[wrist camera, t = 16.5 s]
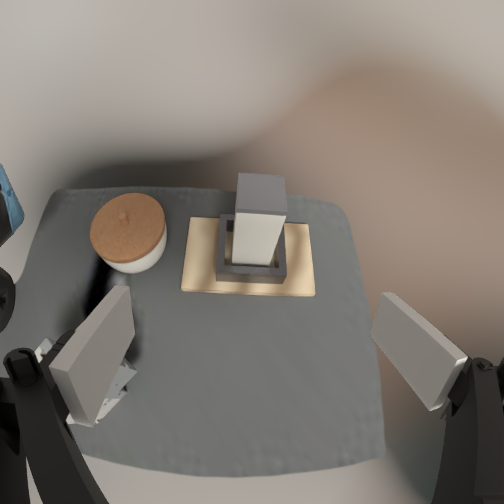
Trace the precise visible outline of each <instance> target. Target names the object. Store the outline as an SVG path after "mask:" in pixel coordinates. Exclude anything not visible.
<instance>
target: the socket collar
mask: <svg viewBox="0 0 504 504" xmlns="http://www.w3.org/2000/svg"><path fill="white" fill-rule="evenodd" d="M234 217H235V215H232V214H220V223H219V235H218V247H217V260H216V281H220V282H239V283H261V284H283V283H284V281H285V279H286V277H287V263H286V247H285V232H284V224H283V227H282V230H281V233H280V235H279V238H278V241H277V244H276V247H275V250H274V256H275V268H265V267H245V266H226V265H224V262H225V245H226V231H228V232H233V228H234Z"/></svg>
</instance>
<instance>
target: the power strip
mask: <svg viewBox="0 0 504 504" xmlns="http://www.w3.org/2000/svg"><path fill="white" fill-rule="evenodd" d="M286 215H287V201H286V190H285V180H284V176H275V175H263V174H251V173H238V183H237V194H236V205H235V217H234V228H233V242H232V264H231V266H245V267H265V268H268V267H269V264H270V261H271V259H272V256H273V253H274V250H275V247H276V244H277V241H278V238H279V235H280V233H281V230H282V227H283V224H284V221H285V218H286Z"/></svg>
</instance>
